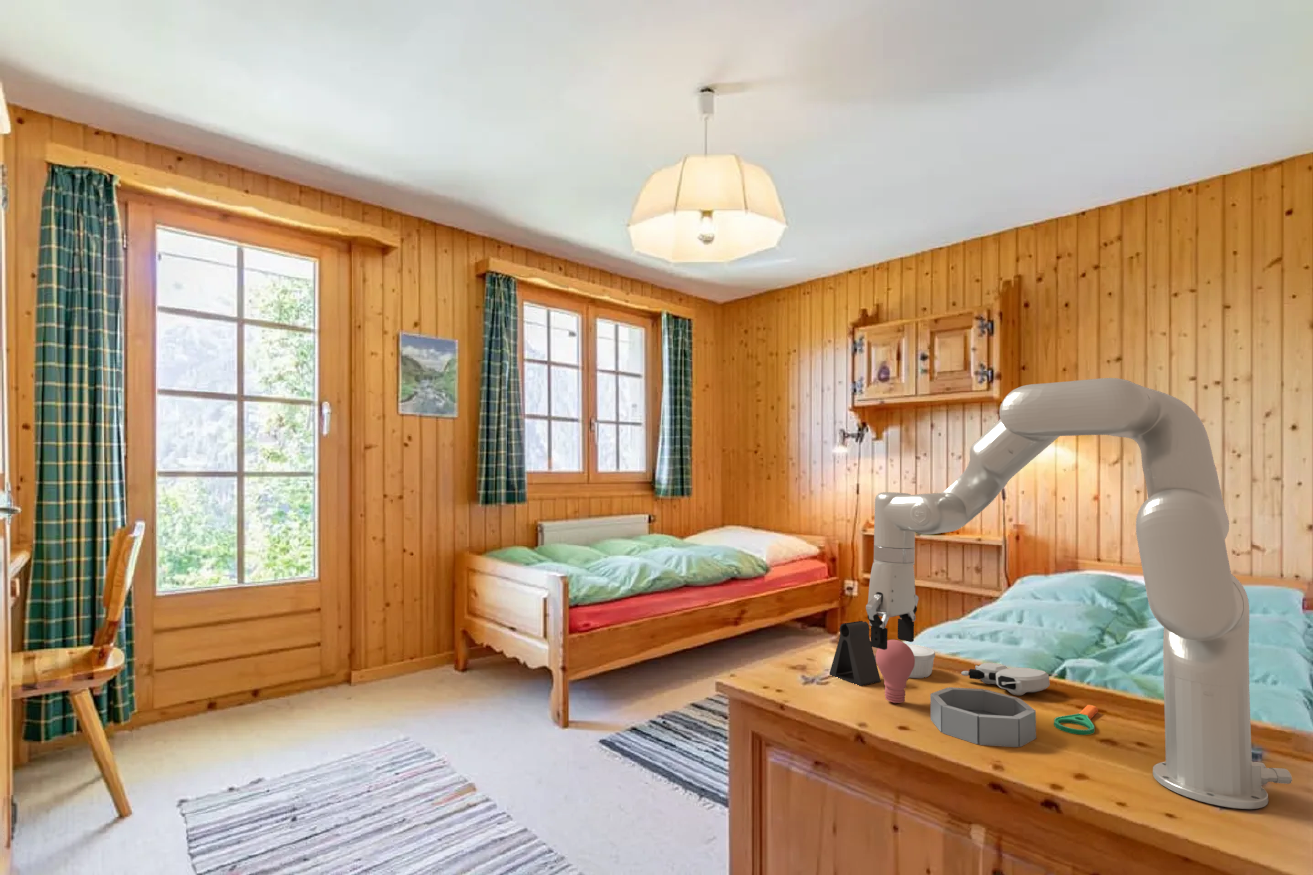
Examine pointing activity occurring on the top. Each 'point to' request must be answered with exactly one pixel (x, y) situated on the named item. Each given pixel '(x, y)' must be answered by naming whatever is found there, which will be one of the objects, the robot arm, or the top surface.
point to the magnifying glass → (1078, 721)
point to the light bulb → (895, 668)
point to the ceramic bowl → (983, 717)
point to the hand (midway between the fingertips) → (892, 644)
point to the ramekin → (922, 661)
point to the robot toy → (1011, 677)
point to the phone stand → (855, 655)
